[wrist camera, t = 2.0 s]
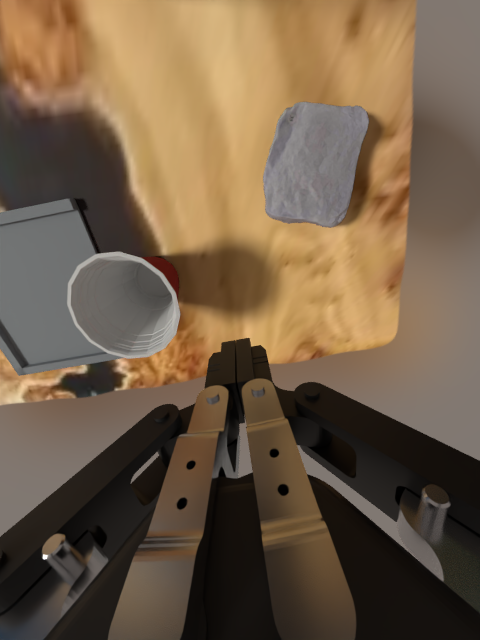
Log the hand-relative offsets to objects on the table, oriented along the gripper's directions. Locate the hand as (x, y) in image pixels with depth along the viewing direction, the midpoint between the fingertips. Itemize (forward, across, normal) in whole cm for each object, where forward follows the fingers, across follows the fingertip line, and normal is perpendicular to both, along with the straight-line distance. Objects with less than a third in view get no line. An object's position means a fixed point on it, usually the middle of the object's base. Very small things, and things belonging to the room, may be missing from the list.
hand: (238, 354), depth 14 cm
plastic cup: (+23, +11, 0) cm, 25 cm away
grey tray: (+23, +27, 0) cm, 35 cm away
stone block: (+23, -10, -9) cm, 27 cm away
